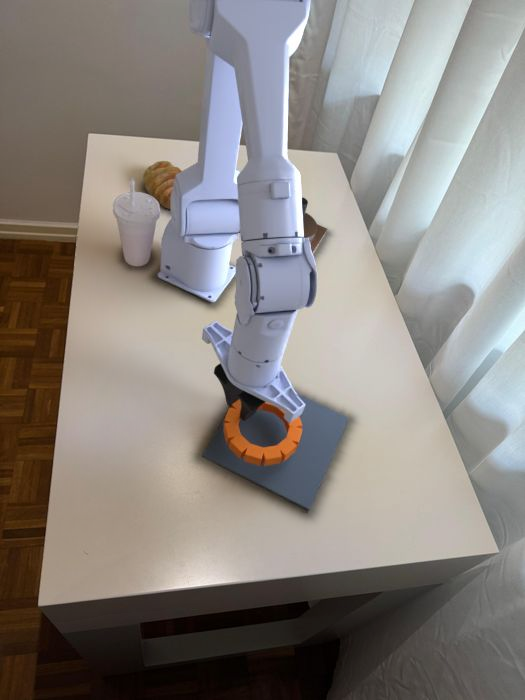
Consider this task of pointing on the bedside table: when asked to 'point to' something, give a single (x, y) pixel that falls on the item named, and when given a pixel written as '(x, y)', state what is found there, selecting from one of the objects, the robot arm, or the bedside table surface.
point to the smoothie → (136, 224)
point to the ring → (258, 453)
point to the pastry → (161, 181)
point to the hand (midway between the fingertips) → (241, 408)
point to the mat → (301, 467)
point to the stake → (312, 228)
